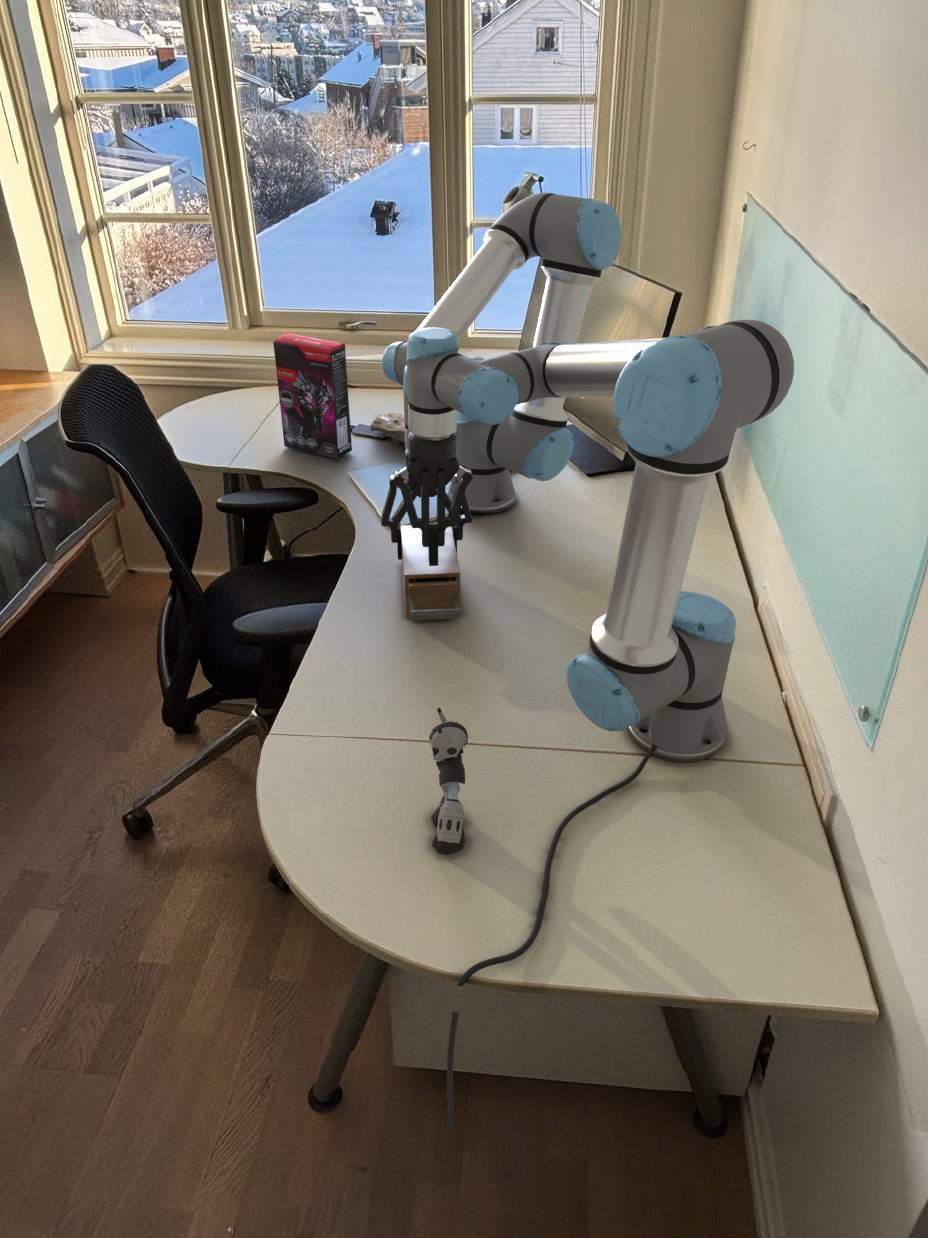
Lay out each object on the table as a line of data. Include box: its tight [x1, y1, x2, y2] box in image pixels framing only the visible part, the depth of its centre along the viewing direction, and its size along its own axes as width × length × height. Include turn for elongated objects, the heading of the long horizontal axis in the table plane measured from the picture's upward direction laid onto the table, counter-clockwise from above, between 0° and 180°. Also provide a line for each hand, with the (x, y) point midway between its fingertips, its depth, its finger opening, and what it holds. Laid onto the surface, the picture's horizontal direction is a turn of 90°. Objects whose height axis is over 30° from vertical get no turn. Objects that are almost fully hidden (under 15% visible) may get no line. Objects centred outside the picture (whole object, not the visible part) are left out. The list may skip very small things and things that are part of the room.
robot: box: [428, 707, 469, 855], centre depth 120 cm, size 20×5×20 cm, turn 3°
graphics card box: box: [272, 332, 353, 460], centre depth 223 cm, size 17×7×27 cm, turn 62°
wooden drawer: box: [408, 577, 462, 621], centre depth 169 cm, size 24×9×7 cm, turn 6°
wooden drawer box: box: [400, 524, 461, 618], centre depth 174 cm, size 19×10×9 cm, turn 6°
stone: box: [369, 412, 405, 444], centre depth 234 cm, size 21×15×6 cm
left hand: (427, 555), depth 180 cm, fingers closed on wooden drawer box, 10 cm apart
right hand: (433, 561), depth 157 cm, fingers closed
